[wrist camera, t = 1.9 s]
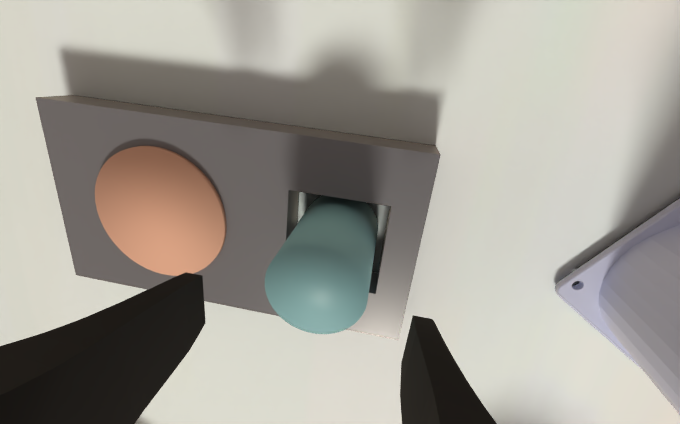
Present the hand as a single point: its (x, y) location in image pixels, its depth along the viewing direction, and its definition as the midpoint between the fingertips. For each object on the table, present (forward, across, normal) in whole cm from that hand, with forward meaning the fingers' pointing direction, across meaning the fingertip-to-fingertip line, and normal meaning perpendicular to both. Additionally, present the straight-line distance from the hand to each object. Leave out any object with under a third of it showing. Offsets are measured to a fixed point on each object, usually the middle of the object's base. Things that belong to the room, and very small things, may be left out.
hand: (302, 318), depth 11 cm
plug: (+8, 0, 0) cm, 8 cm away
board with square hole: (+8, +5, 0) cm, 9 cm away
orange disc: (+6, +9, 0) cm, 11 cm away
